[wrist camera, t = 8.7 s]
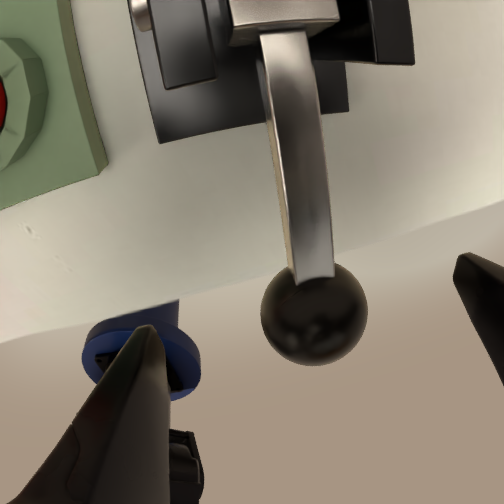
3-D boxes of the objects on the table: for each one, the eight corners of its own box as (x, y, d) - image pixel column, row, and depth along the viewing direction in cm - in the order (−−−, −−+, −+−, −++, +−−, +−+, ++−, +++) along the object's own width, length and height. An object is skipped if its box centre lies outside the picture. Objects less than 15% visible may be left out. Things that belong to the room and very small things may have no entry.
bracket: (340, 108, 15) (474, 178, 7) (161, 138, 15) (109, 246, 7) (313, -68, 9) (422, -153, 1) (124, -43, 9) (37, -133, 1)
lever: (346, 310, 12) (379, 370, 9) (262, 329, 12) (277, 398, 9) (304, -41, 6) (343, -89, 3) (191, -30, 6) (183, -84, 3)
